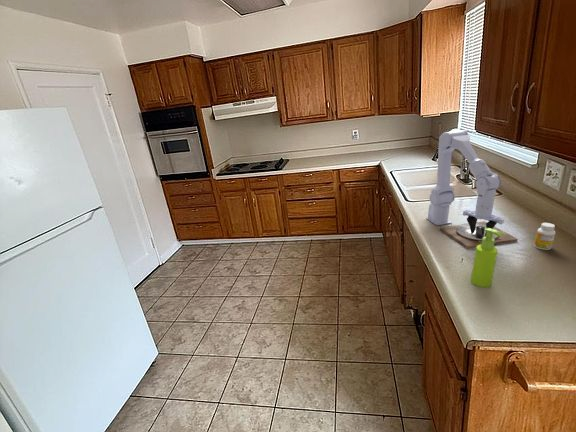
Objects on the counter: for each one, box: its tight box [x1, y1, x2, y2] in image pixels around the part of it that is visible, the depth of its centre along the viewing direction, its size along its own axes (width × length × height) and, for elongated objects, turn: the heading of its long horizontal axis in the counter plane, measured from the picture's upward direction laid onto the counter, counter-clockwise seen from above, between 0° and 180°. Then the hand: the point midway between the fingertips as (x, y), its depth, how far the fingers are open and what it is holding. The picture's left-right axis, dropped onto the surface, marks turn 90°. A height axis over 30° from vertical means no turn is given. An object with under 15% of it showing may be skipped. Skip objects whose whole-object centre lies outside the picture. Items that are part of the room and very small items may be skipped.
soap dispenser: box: [470, 228, 505, 288], centre depth 99 cm, size 6×7×20 cm
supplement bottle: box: [533, 222, 556, 251], centre depth 117 cm, size 5×5×10 cm
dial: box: [456, 222, 499, 241], centre depth 131 cm, size 16×16×5 cm
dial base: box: [439, 220, 519, 250], centre depth 132 cm, size 19×22×2 cm
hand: (479, 234), depth 126 cm, fingers open, 5 cm apart
